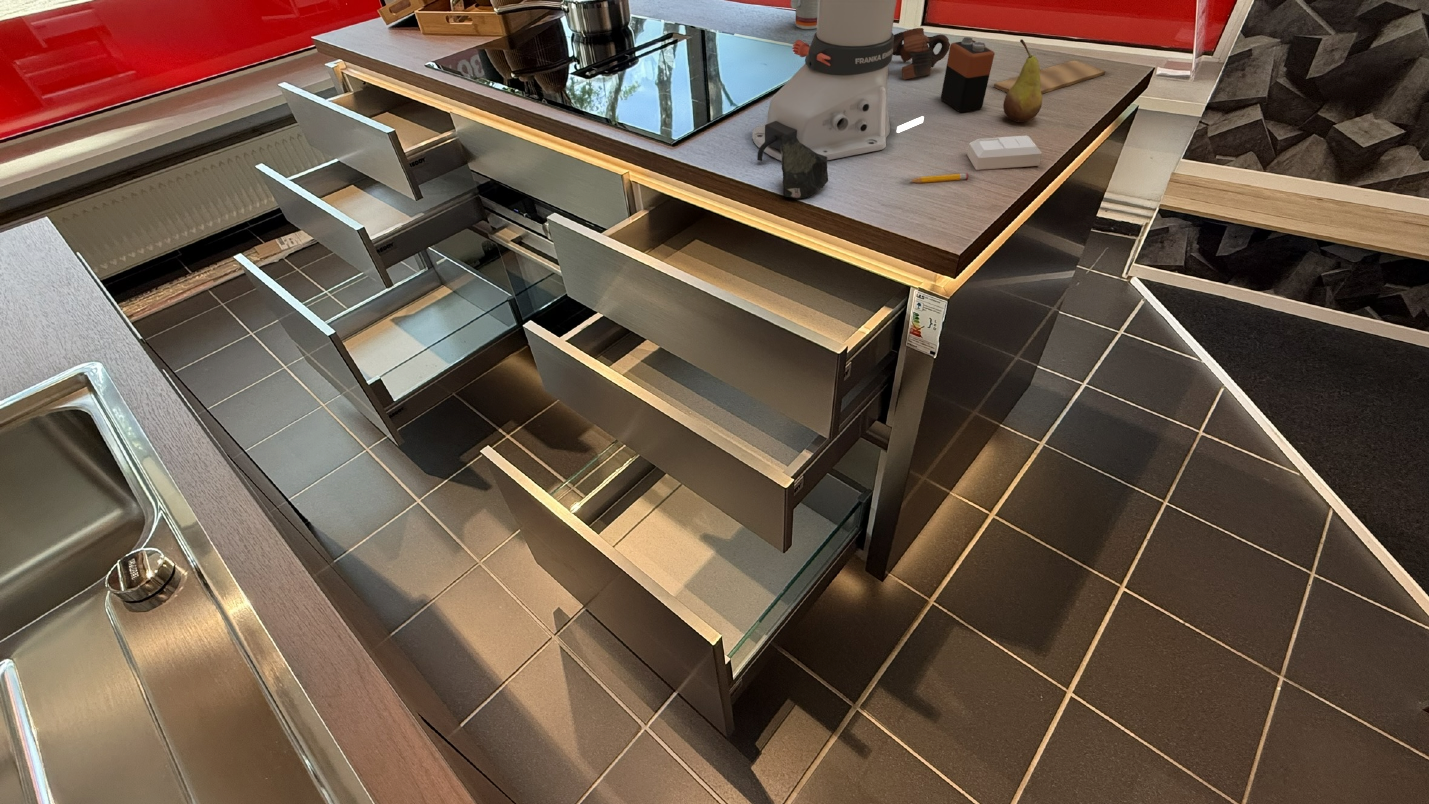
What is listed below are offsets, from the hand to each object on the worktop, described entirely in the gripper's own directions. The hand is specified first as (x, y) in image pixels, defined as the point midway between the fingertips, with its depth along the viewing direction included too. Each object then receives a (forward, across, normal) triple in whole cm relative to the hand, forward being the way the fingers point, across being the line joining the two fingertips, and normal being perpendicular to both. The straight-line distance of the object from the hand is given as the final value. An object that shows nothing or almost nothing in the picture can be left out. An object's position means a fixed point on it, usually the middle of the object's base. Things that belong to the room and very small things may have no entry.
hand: (810, 4), depth 147 cm
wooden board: (+4, +16, -52) cm, 55 cm away
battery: (+4, -4, -51) cm, 51 cm away
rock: (0, -43, -62) cm, 75 cm away
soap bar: (+4, -14, -70) cm, 71 cm away
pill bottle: (+4, 0, 0) cm, 4 cm away
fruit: (+4, -1, -61) cm, 61 cm away
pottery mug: (+4, 0, -34) cm, 34 cm away
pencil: (+4, -26, -70) cm, 75 cm away
